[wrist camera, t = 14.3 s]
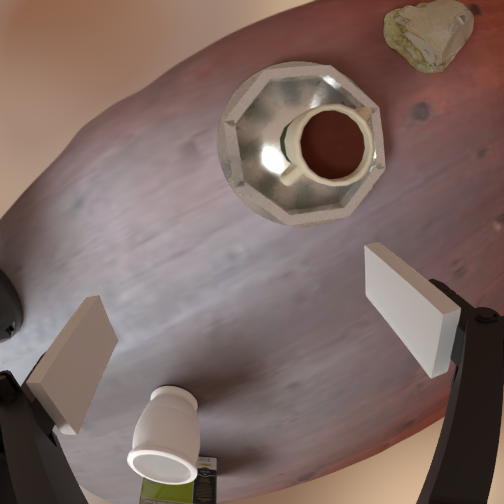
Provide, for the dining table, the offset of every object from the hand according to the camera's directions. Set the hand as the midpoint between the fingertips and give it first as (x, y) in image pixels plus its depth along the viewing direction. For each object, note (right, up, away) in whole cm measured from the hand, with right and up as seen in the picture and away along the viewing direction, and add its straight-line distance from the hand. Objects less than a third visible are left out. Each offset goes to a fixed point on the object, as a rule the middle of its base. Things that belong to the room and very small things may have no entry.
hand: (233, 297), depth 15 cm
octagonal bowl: (+7, +15, +22) cm, 28 cm away
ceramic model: (+25, +33, +17) cm, 45 cm away
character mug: (+7, +15, +22) cm, 28 cm away
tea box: (-14, -45, +43) cm, 64 cm away
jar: (-13, -24, +36) cm, 45 cm away
